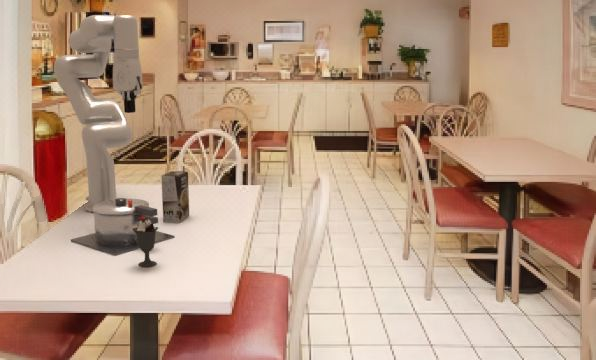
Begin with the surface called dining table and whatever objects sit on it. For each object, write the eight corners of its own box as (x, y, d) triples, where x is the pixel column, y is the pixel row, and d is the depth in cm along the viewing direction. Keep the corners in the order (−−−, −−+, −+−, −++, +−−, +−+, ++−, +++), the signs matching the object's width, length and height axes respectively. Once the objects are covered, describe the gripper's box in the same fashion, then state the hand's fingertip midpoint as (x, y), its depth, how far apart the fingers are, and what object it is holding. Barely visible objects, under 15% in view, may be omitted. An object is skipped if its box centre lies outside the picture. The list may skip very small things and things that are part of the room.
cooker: (70, 241, 189) (68, 210, 187) (130, 225, 206) (128, 197, 204) (124, 259, 173) (122, 225, 171) (184, 240, 190) (183, 209, 188)
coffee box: (180, 223, 209) (178, 176, 205) (162, 222, 210) (160, 175, 207) (190, 216, 217) (188, 171, 214) (173, 215, 219) (171, 170, 215)
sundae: (136, 260, 171) (133, 208, 168) (161, 260, 172) (159, 207, 169) (132, 268, 165) (129, 214, 162) (158, 268, 165) (155, 213, 162)
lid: (81, 209, 187) (80, 199, 186) (126, 199, 200) (126, 189, 199) (131, 222, 173) (130, 211, 172) (176, 210, 186) (175, 200, 185)
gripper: (102, 55, 200) (106, 111, 204) (132, 55, 191) (135, 114, 195) (122, 54, 206) (125, 110, 210) (151, 55, 197) (154, 113, 201)
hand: (130, 112), depth 202 cm, fingers closed
